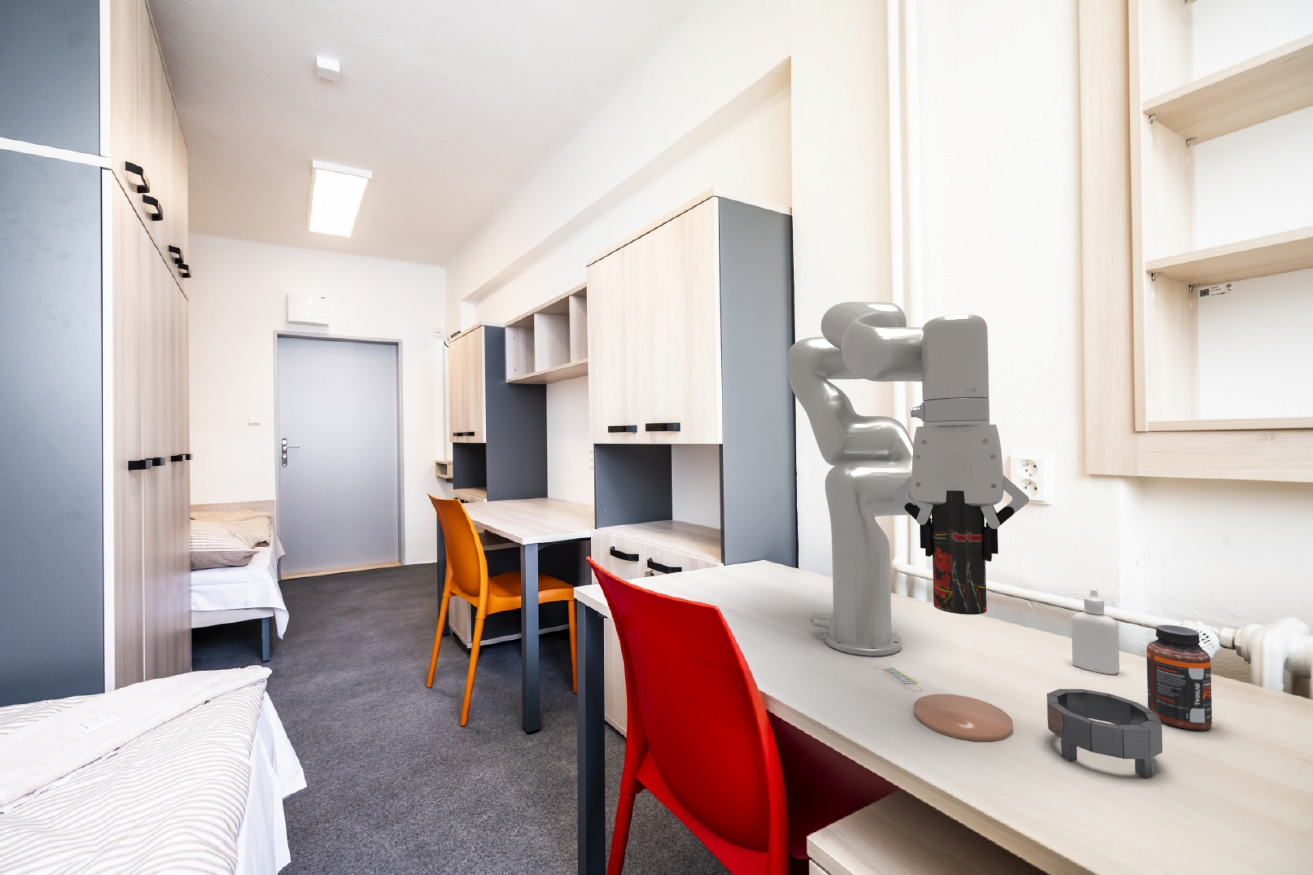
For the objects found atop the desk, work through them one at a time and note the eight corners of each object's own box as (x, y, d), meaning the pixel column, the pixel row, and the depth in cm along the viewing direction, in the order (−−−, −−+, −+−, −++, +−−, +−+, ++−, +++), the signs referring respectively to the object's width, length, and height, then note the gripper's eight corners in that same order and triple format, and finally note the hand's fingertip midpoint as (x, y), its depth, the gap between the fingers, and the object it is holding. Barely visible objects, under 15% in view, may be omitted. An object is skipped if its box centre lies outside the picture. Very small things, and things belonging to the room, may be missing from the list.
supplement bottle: (1219, 737, 68) (1216, 640, 68) (1152, 724, 71) (1150, 632, 71) (1205, 716, 73) (1202, 626, 73) (1144, 705, 76) (1141, 619, 76)
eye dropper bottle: (1089, 660, 92) (1088, 584, 92) (1125, 674, 86) (1123, 593, 86) (1067, 663, 91) (1065, 586, 91) (1101, 677, 85) (1099, 595, 85)
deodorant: (994, 615, 70) (991, 490, 70) (940, 613, 71) (938, 490, 71) (977, 602, 76) (974, 487, 76) (928, 600, 77) (925, 487, 77)
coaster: (907, 726, 71) (907, 720, 72) (920, 693, 81) (920, 687, 81) (1012, 750, 66) (1012, 743, 66) (1013, 711, 75) (1013, 705, 75)
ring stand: (1050, 761, 63) (1049, 715, 63) (1046, 723, 72) (1045, 682, 72) (1170, 788, 58) (1169, 738, 58) (1151, 744, 67) (1150, 700, 67)
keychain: (932, 688, 82) (913, 690, 81) (932, 693, 82) (913, 695, 81) (887, 661, 92) (870, 663, 91) (887, 665, 92) (870, 667, 91)
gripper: (877, 416, 75) (880, 556, 75) (1037, 410, 66) (1041, 569, 66) (888, 418, 81) (891, 546, 81) (1035, 412, 72) (1039, 558, 72)
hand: (958, 555), depth 73 cm, fingers closed on deodorant, 6 cm apart
